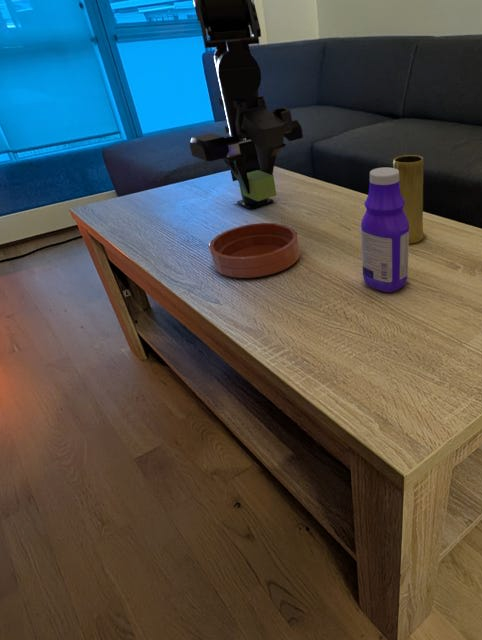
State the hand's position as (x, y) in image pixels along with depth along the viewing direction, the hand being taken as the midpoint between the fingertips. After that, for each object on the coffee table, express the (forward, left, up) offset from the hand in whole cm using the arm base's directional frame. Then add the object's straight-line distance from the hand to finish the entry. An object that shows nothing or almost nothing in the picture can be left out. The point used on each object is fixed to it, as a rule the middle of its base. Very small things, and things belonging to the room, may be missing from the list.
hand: (258, 190), depth 80 cm
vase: (+18, +20, -11) cm, 29 cm away
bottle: (+28, +4, -11) cm, 30 cm away
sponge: (0, 0, -1) cm, 1 cm away
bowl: (+4, -5, -11) cm, 12 cm away
